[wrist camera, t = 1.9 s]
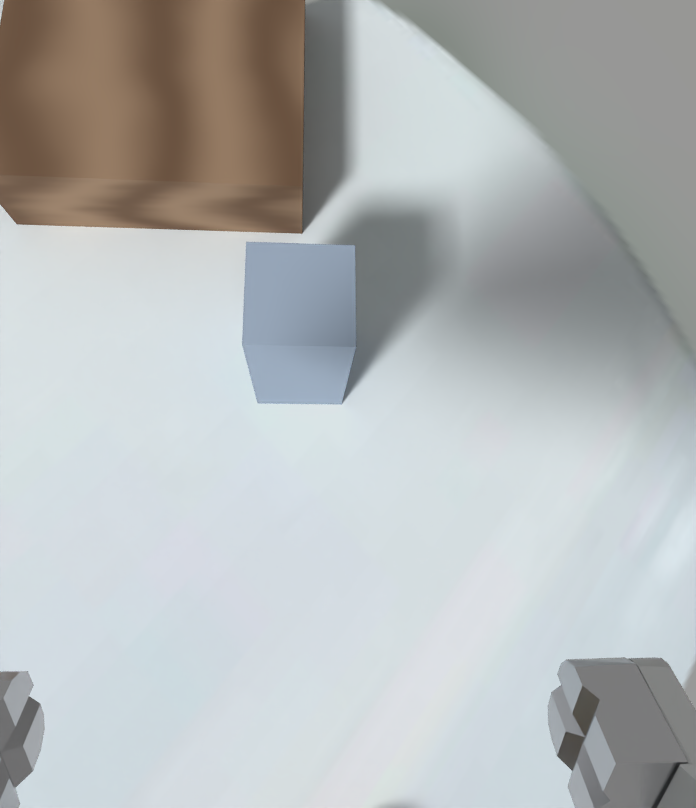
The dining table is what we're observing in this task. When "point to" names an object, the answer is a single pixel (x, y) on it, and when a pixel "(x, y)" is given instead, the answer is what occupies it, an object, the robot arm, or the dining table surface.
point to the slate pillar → (299, 321)
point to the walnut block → (153, 113)
